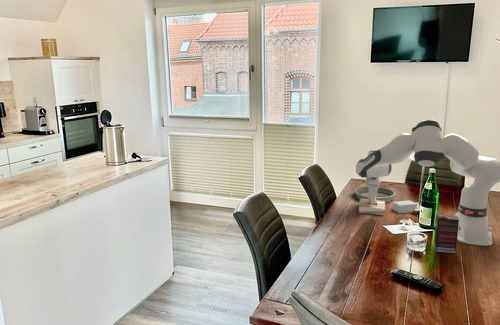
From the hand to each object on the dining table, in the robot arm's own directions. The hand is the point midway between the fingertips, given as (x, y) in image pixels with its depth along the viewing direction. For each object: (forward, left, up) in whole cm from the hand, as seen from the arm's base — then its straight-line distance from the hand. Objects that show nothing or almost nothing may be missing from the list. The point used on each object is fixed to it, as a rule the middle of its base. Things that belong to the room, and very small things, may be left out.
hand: (372, 200), depth 226 cm
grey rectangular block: (+4, -18, -6) cm, 19 cm away
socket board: (0, 0, -6) cm, 6 cm away
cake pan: (+24, -1, -6) cm, 25 cm away
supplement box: (-45, -32, -6) cm, 56 cm away
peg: (0, 0, -5) cm, 5 cm away
